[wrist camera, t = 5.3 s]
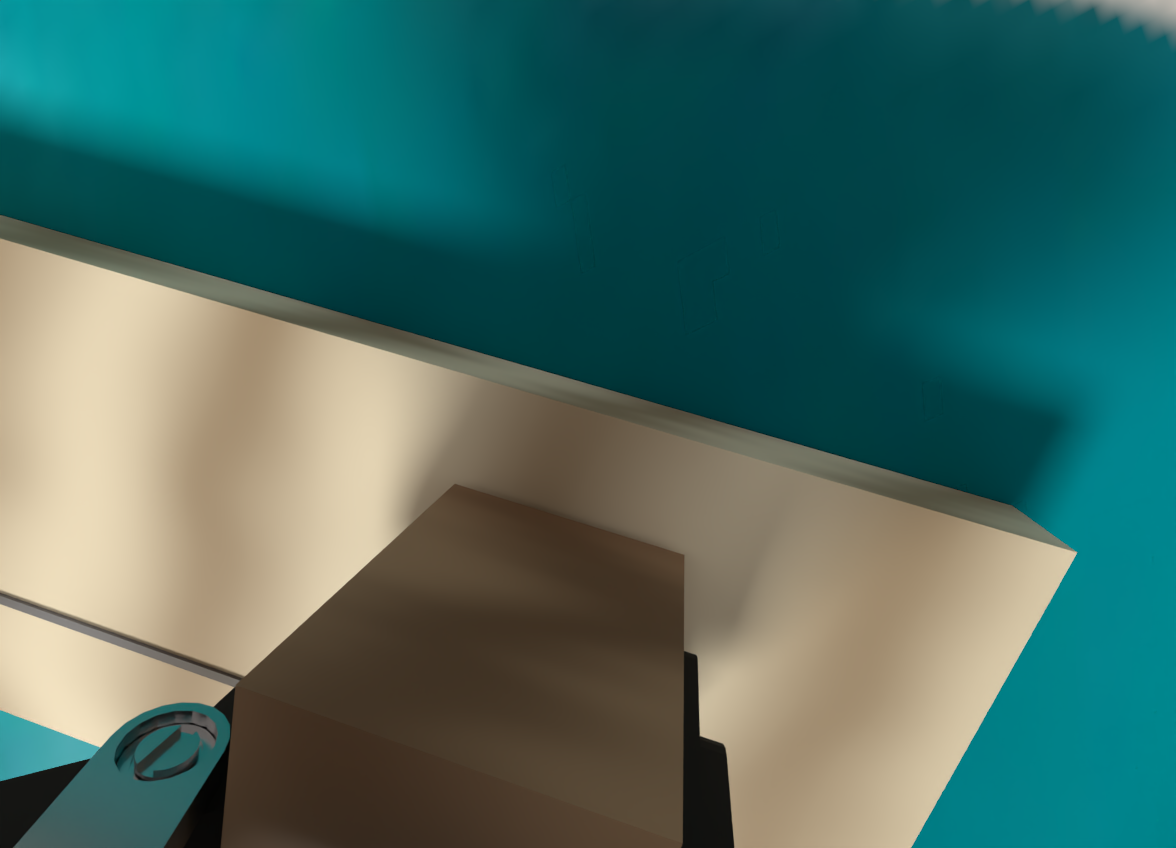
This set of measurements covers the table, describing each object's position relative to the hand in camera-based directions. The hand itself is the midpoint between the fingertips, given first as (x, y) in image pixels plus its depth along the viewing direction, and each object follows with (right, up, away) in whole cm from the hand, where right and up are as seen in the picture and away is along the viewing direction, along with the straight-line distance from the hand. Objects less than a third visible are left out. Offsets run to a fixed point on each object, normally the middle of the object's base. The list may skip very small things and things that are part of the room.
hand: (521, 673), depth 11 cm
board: (-6, +2, +4) cm, 7 cm away
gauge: (0, -1, +1) cm, 2 cm away
